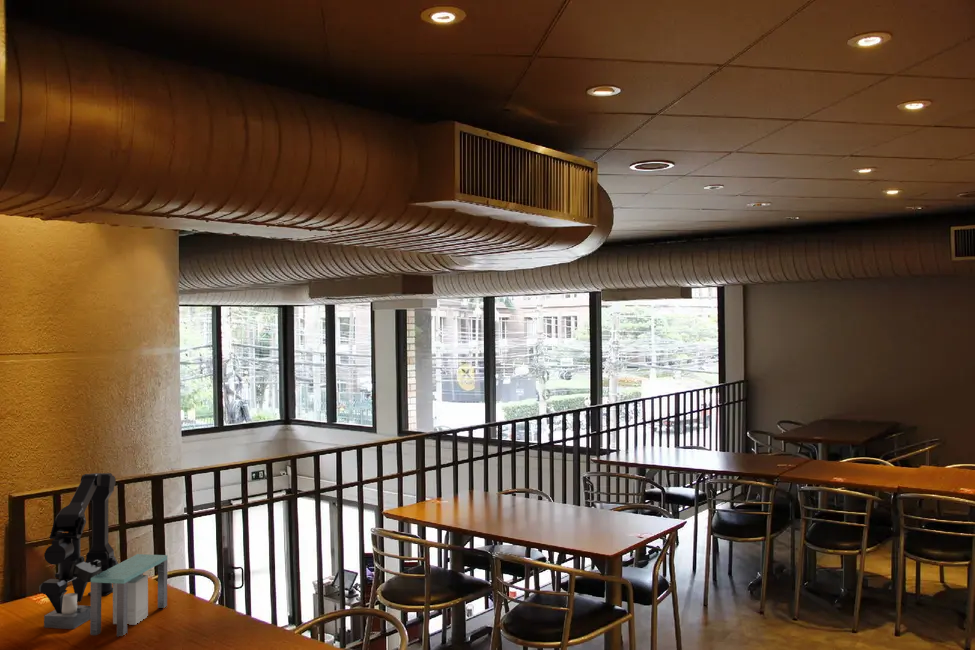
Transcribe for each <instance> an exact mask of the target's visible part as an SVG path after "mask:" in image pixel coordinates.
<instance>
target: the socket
mask: <svg viewBox="0 0 975 650" xmlns="http://www.w3.org/2000/svg"><path fill="white" fill-rule="evenodd" d="M90 609H91V605H83V604H82V605H78V604H77V612H75V613H73V614H62V610H61V613H57V612H56V610H55V609H53V610H52V611H50V612H49V613H47V614H44V616H43V627H44V628H45V629H62V630H63V629H64V630H65V629H67V630H75V629H76V628H78V627H79V626H82V625H83V624H85V623H87V622H88V621H89V620H90Z"/></svg>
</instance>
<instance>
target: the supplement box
mask: <svg viewBox="0 0 975 650" xmlns="http://www.w3.org/2000/svg"><path fill="white" fill-rule="evenodd" d="M148 580H149V575H147V574H145V575H144V574H143V575H138V576H137V577H135V578H133V579H131V580H130V581H128V613H127V624H129V625H130V626H131V625H132V626H136V625H138V624H140V623H141V622H142V621H144V620H145V619H146V618H148V617H147V616H149V581H148ZM112 588H113V592H112V625H117V583H112ZM143 619H144V620H143ZM140 621H141V622H140ZM137 623H138V624H137Z"/></svg>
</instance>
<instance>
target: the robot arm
mask: <svg viewBox="0 0 975 650" xmlns="http://www.w3.org/2000/svg"><path fill="white" fill-rule="evenodd" d="M116 483H117V482H116V476H114V475H113V474H112V472H106V473H105V472H100V473H98V472H95V473H84V474H82V475H81V476H80V483H79V485H78V486H77V488H76V489H75V490H76V491H75V493H74V495H73V496H72V498H71V500H70V502H69V503H68V505H66V506H65V507H62V508H61V509H60V511H59V512H58V514H57V515H56V517H55V518H54V520H53V523H52V527H51V532H50V535H49V540H51V545H49V546H48V547H47V548H46V549H45V550H44V551H45V552H44V555H43V557H44V559H45V560H44V561H46V563H48V564H49V565H55V566H57V565H58V572H56V573H55V574H54V578H49V579H47V580H45V581H43V582H42V583H41V584H39V593H42V594H43V595H45V596H46V597H47V598H48V600H49V602H50V603H51V605H52V607H53V610H56V612H57V613H61V610H62V602H63V595H65V594H67V591H68V589H67V587H68V583H70V582H71V583H72V587H73V593H76V594H77V603H81V602H82V599H83V597H84V594H85V590H86V587H87V585H88V583H91V578H92V577H94V576H96V575H98V574H100V573H102V572H104V571H105V570H107V569H109V568H111V567H113V566H115V565H117V564H119V562H118V560H117V559H116V556H115V549H114V548H113V547H112V546H111V544H110V542H109V499H110V497H111V495H112V494H113V493H114V491H115V487H116ZM90 501H92V528H91V529H92V533H91V534H92V540H91V541H92V542H91V543H92V545H91V548H90V549H89V551H88V552H87V553H86V555H85V557H84V556H83V555H81V536H82V535H83V532H84V529H85V527H86V523H87V520H86V519H87V518H86V515H85V512H86V510H87V508H88V506H89V504H90ZM85 558H86V559H85ZM56 578H57V579H56ZM58 578H59V579H58ZM112 593H113V583H102V584H101V596H108V595H110V594H112ZM87 595H88V596H91V591H89V592H87Z"/></svg>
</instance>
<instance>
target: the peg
mask: <svg viewBox="0 0 975 650" xmlns="http://www.w3.org/2000/svg"><path fill="white" fill-rule="evenodd" d="M77 605H78V602H77V594H76V593H74V592H72V593H71V592H70V593H65V594H64V595H63V602H62V614H73V613H75V612H77Z"/></svg>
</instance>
